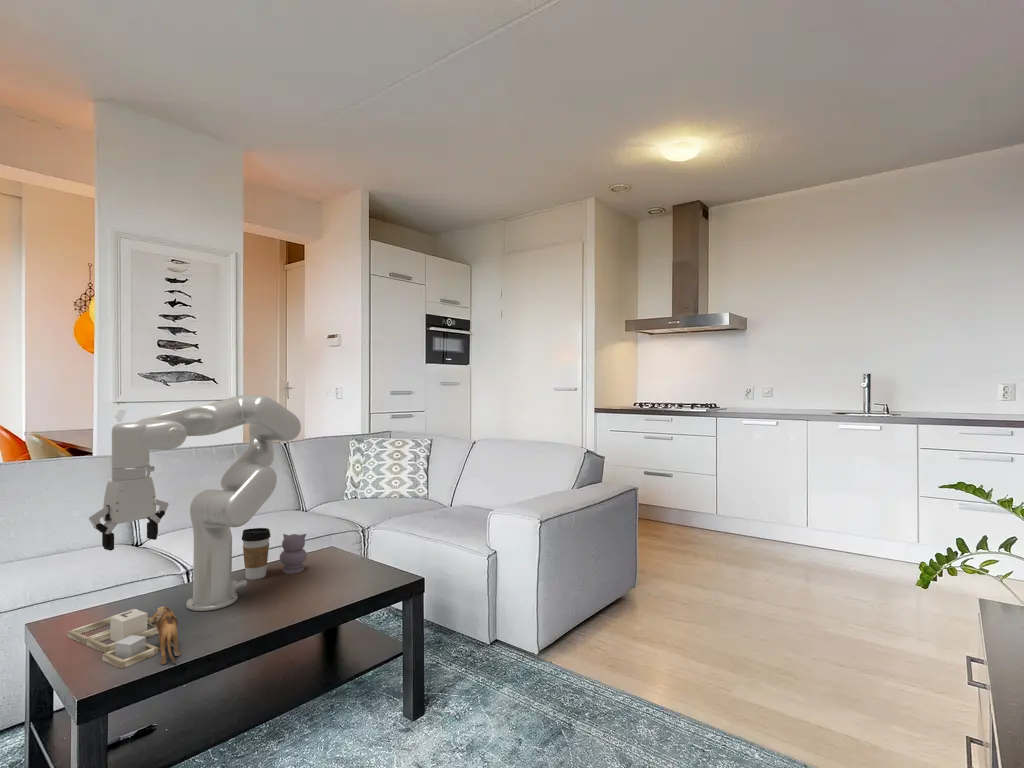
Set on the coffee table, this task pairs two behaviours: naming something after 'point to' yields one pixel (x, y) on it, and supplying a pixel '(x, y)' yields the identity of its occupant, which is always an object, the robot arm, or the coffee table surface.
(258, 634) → the coffee table surface
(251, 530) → the coffee cup
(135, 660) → the small box
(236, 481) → the robot arm
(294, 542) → the cat figurine
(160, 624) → the lion figurine
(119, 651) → the grey block
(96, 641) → the middle box
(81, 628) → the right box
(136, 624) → the letter cube
